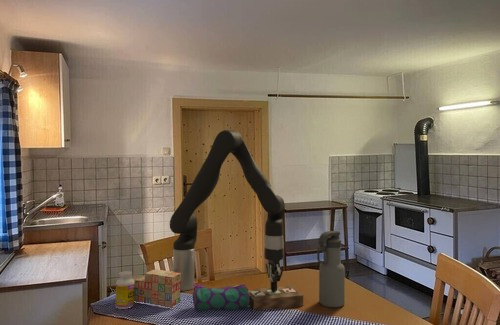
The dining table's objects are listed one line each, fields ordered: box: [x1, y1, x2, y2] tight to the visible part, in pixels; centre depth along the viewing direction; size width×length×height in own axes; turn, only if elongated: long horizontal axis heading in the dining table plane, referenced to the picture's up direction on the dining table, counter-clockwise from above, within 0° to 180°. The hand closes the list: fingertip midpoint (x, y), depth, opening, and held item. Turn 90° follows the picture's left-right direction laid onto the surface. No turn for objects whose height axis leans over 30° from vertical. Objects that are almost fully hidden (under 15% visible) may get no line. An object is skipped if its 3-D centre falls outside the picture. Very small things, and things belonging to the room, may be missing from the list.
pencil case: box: [192, 282, 250, 311], centre depth 141 cm, size 21×9×10 cm, turn 98°
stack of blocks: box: [131, 269, 181, 308], centre depth 147 cm, size 21×6×12 cm, turn 69°
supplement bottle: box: [115, 270, 135, 310], centre depth 142 cm, size 7×7×13 cm
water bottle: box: [316, 230, 346, 309], centre depth 148 cm, size 10×10×28 cm
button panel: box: [248, 285, 304, 311], centre depth 148 cm, size 20×12×4 cm, turn 107°
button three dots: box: [251, 291, 265, 297], centre depth 146 cm, size 4×4×3 cm
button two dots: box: [282, 288, 296, 294], centre depth 150 cm, size 4×4×3 cm
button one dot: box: [266, 290, 281, 295], centre depth 148 cm, size 4×4×3 cm
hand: (273, 290), depth 148 cm, fingers closed
